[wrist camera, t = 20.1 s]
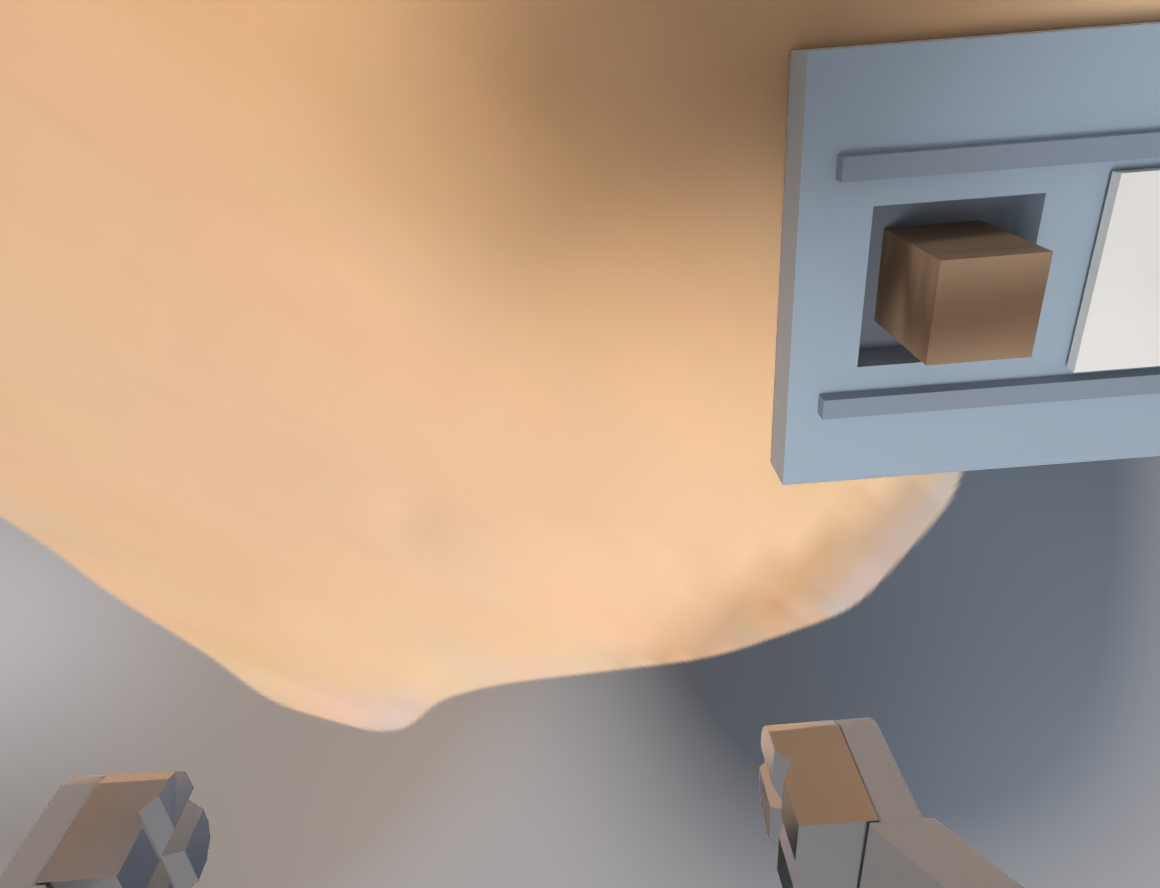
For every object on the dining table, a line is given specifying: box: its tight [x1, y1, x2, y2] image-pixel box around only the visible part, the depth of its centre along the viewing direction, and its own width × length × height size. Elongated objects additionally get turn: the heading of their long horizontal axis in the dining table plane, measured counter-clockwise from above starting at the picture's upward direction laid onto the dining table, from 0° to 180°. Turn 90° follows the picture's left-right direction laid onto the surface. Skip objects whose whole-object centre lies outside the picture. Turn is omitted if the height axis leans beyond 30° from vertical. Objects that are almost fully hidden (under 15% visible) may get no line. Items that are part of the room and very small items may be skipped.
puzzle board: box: [771, 21, 1160, 485], centre depth 36 cm, size 20×22×3 cm
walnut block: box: [874, 220, 1053, 366], centre depth 35 cm, size 4×4×6 cm
